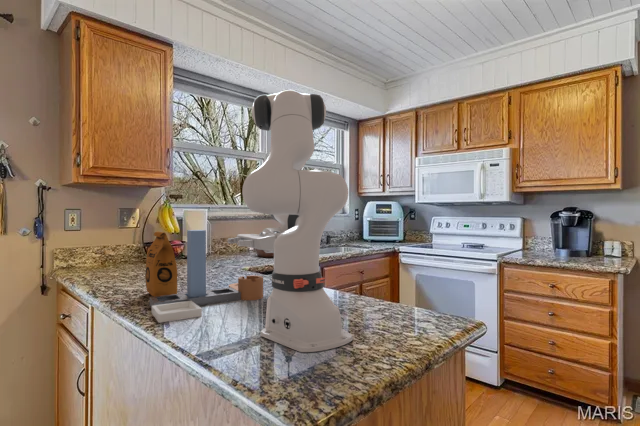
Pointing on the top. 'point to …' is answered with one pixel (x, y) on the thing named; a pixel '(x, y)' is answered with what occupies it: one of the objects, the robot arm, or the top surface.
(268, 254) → the wooden bowl
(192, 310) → the tray
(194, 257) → the blue-grey rectangular block
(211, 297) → the rail
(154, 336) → the top surface
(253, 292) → the bracket
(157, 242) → the coffee package
